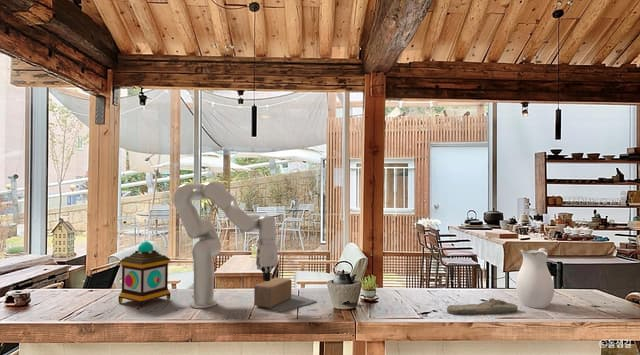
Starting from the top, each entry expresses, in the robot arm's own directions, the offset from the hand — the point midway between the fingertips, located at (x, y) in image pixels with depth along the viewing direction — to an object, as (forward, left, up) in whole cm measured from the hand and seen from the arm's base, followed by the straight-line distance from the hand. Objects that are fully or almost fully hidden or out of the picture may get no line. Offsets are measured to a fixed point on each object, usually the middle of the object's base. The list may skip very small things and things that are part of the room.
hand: (266, 280), depth 196 cm
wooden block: (-1, -2, -8) cm, 8 cm away
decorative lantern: (-51, -36, -14) cm, 64 cm away
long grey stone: (+74, +70, -14) cm, 103 cm away
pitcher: (+88, +103, -13) cm, 136 cm away
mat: (0, +13, -13) cm, 19 cm away
